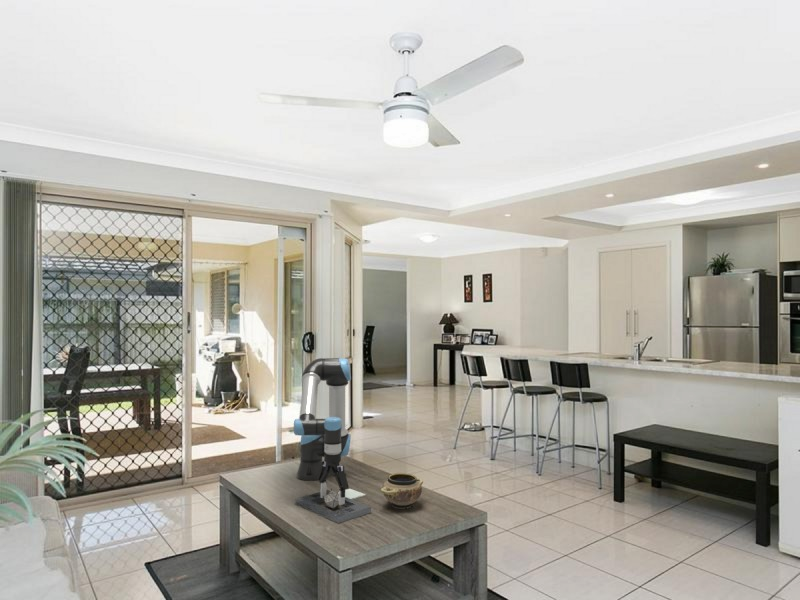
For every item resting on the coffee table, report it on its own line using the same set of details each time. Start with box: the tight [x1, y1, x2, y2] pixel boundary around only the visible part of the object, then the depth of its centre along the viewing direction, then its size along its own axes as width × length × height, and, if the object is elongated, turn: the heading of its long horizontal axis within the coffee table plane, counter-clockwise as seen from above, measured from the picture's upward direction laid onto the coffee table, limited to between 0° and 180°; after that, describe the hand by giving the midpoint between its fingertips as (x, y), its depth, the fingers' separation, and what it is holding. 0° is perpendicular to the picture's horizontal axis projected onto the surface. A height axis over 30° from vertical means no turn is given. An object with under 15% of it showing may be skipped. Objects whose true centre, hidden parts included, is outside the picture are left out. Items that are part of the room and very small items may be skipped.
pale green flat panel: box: [337, 488, 366, 500], centre depth 259 cm, size 12×12×1 cm
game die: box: [323, 488, 339, 511], centre depth 242 cm, size 9×8×10 cm
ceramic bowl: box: [380, 472, 424, 510], centre depth 246 cm, size 24×18×15 cm
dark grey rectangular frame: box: [294, 489, 372, 524], centre depth 242 cm, size 32×18×3 cm, turn 44°
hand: (332, 500), depth 242 cm, fingers open, 13 cm apart
